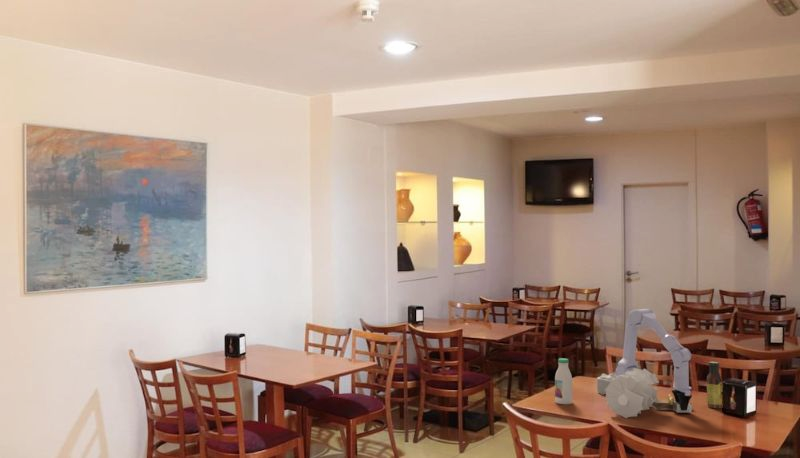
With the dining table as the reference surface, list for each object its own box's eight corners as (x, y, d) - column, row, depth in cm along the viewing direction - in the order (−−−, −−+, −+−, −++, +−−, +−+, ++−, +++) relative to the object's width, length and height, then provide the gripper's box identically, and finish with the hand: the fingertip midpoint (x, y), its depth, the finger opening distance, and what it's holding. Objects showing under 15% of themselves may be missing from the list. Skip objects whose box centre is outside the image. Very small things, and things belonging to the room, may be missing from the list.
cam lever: (673, 405, 278) (673, 399, 278) (669, 404, 279) (669, 398, 279) (672, 400, 286) (672, 394, 286) (667, 400, 287) (667, 394, 287)
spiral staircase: (612, 427, 272) (632, 410, 292) (651, 415, 262) (669, 399, 281) (593, 385, 276) (614, 372, 296) (630, 372, 266) (649, 360, 286)
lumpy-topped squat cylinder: (594, 392, 314) (594, 374, 314) (609, 388, 323) (608, 371, 323) (613, 396, 306) (613, 378, 307) (628, 392, 315) (627, 374, 315)
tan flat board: (655, 409, 283) (655, 403, 283) (651, 406, 289) (651, 399, 289) (692, 410, 282) (692, 403, 282) (686, 406, 288) (686, 399, 288)
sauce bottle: (724, 409, 283) (724, 364, 283) (709, 408, 284) (708, 363, 284) (720, 405, 289) (719, 361, 289) (705, 405, 290) (704, 360, 290)
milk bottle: (570, 400, 300) (570, 357, 300) (573, 405, 292) (573, 360, 292) (554, 400, 300) (553, 357, 301) (556, 404, 293) (555, 360, 293)
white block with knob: (677, 412, 275) (677, 403, 275) (673, 409, 280) (673, 400, 280) (691, 412, 275) (691, 403, 275) (687, 409, 279) (687, 400, 280)
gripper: (697, 380, 270) (698, 413, 270) (684, 373, 285) (684, 404, 284) (680, 380, 270) (680, 413, 270) (668, 373, 285) (668, 404, 285)
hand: (681, 408), depth 277 cm, fingers closed on white block with knob, 4 cm apart
